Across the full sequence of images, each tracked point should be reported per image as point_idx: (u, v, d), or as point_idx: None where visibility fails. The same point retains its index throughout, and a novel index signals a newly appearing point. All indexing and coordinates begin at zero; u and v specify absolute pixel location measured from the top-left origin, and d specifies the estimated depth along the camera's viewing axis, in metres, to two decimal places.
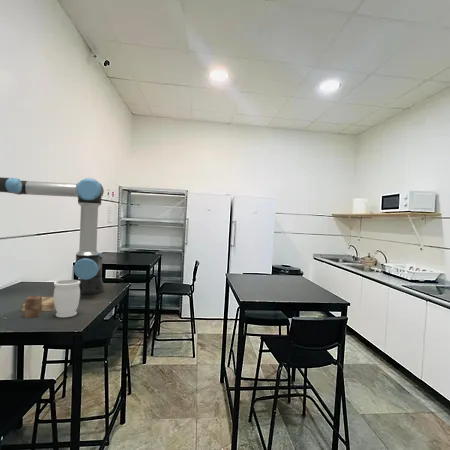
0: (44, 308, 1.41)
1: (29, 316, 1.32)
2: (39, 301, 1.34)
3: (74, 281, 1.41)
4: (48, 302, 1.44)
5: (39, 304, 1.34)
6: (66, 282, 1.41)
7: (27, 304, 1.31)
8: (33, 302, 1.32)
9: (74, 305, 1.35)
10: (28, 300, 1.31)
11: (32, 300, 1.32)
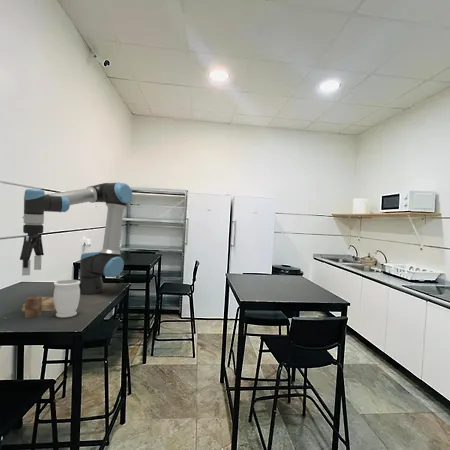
0: (44, 308, 1.41)
1: (29, 316, 1.32)
2: (39, 301, 1.34)
3: (74, 281, 1.41)
4: (48, 302, 1.44)
5: (39, 304, 1.34)
6: (66, 282, 1.41)
7: (27, 304, 1.31)
8: (33, 302, 1.32)
9: (74, 305, 1.35)
10: (28, 300, 1.31)
11: (32, 300, 1.32)
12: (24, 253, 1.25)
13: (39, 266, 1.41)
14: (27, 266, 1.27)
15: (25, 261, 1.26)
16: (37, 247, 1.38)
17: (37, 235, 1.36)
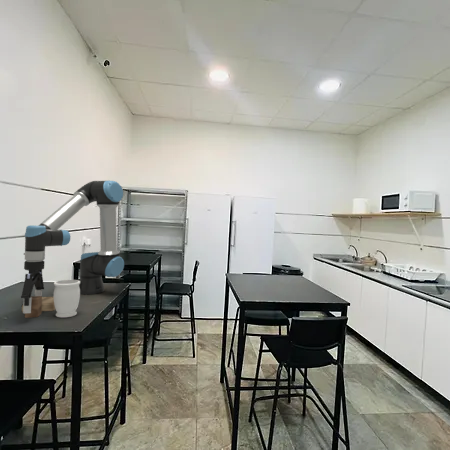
0: (44, 308, 1.41)
1: (29, 316, 1.32)
2: (39, 301, 1.34)
3: (74, 281, 1.41)
4: (48, 302, 1.44)
5: (39, 304, 1.34)
6: (66, 282, 1.41)
7: None
8: (33, 302, 1.32)
9: (74, 305, 1.35)
10: None
11: (32, 300, 1.32)
12: (25, 291, 1.25)
13: None
14: (28, 304, 1.27)
15: (26, 299, 1.26)
16: (38, 282, 1.38)
17: (38, 271, 1.36)
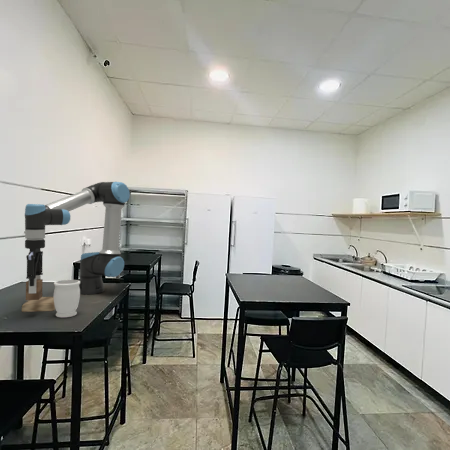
0: (44, 308, 1.41)
1: (30, 299, 1.32)
2: (40, 283, 1.35)
3: (74, 281, 1.41)
4: (48, 302, 1.44)
5: (40, 287, 1.34)
6: (66, 282, 1.41)
7: (28, 286, 1.32)
8: None
9: (74, 305, 1.35)
10: None
11: None
12: (30, 273, 1.28)
13: None
14: (34, 284, 1.31)
15: (31, 280, 1.30)
16: (37, 264, 1.36)
17: (39, 248, 1.36)
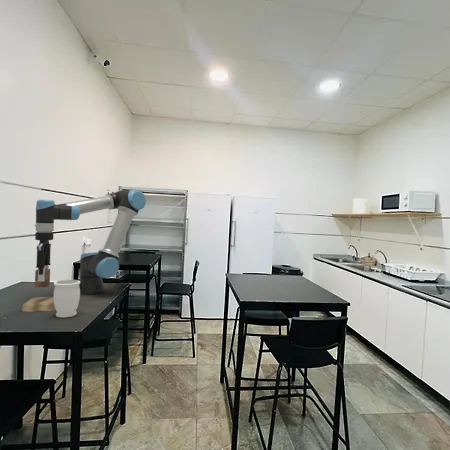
0: (44, 308, 1.41)
1: (39, 286, 1.44)
2: (48, 272, 1.47)
3: (74, 281, 1.41)
4: (48, 302, 1.44)
5: (47, 276, 1.46)
6: (66, 282, 1.41)
7: (37, 275, 1.44)
8: None
9: (74, 305, 1.35)
10: None
11: None
12: (39, 262, 1.40)
13: None
14: (42, 273, 1.43)
15: (40, 269, 1.42)
16: (46, 254, 1.48)
17: (48, 240, 1.49)
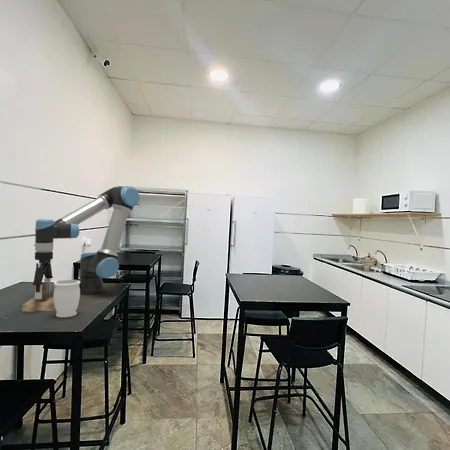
0: (44, 308, 1.41)
1: (38, 300, 1.44)
2: (47, 286, 1.47)
3: (74, 281, 1.41)
4: (48, 302, 1.44)
5: (47, 290, 1.46)
6: (66, 282, 1.41)
7: None
8: (42, 288, 1.44)
9: (74, 305, 1.35)
10: None
11: None
12: (37, 279, 1.38)
13: None
14: (39, 290, 1.40)
15: (37, 286, 1.39)
16: (47, 271, 1.51)
17: (47, 261, 1.48)
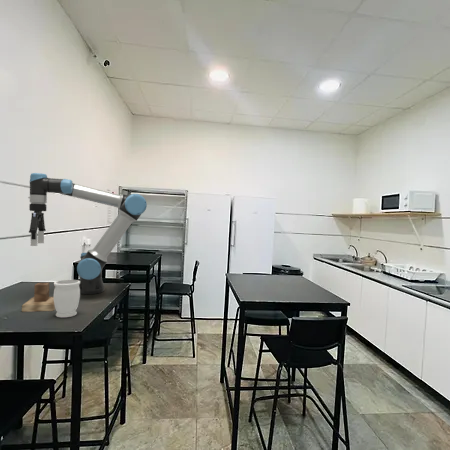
0: (44, 308, 1.41)
1: (38, 300, 1.44)
2: (47, 286, 1.47)
3: (74, 281, 1.41)
4: (48, 302, 1.44)
5: (47, 290, 1.46)
6: (66, 282, 1.41)
7: (36, 289, 1.44)
8: (42, 288, 1.44)
9: (74, 305, 1.35)
10: (37, 286, 1.44)
11: (41, 286, 1.44)
12: (32, 227, 1.48)
13: (42, 240, 1.64)
14: (35, 238, 1.51)
15: (33, 233, 1.49)
16: (40, 223, 1.61)
17: (41, 213, 1.59)
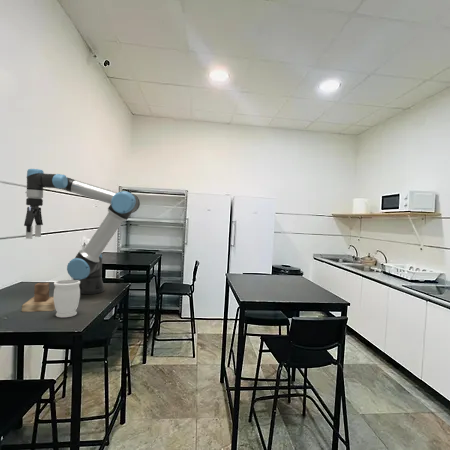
0: (44, 308, 1.41)
1: (38, 300, 1.44)
2: (47, 286, 1.47)
3: (74, 281, 1.41)
4: (48, 302, 1.44)
5: (47, 290, 1.46)
6: (66, 282, 1.41)
7: (36, 289, 1.44)
8: (42, 288, 1.44)
9: (74, 305, 1.35)
10: (37, 286, 1.44)
11: (41, 286, 1.44)
12: (27, 220, 1.54)
13: (39, 234, 1.70)
14: (30, 231, 1.57)
15: (28, 227, 1.55)
16: (37, 217, 1.67)
17: (37, 207, 1.65)
